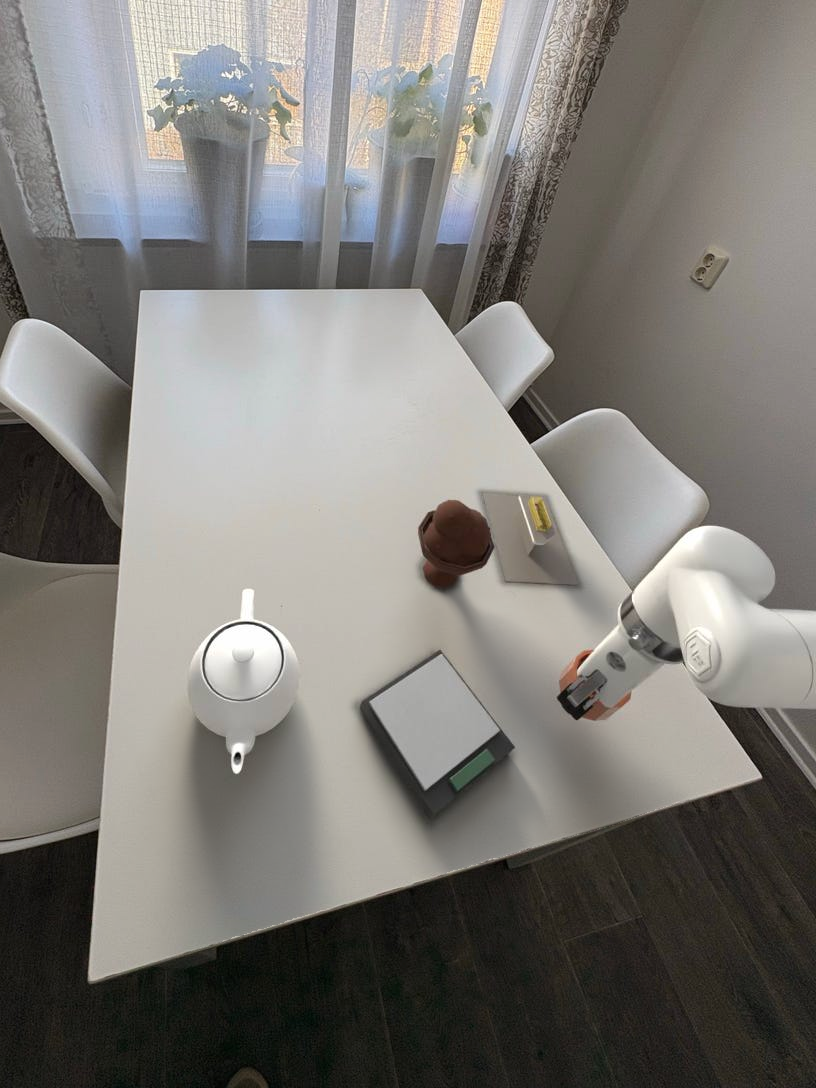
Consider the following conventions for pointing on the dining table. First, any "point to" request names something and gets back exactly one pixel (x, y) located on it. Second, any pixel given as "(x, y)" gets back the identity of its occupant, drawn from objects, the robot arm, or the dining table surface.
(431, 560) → the ice cream bowl
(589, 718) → the dip bowl
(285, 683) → the teapot
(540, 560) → the platform
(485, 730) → the scale
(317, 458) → the dining table surface
